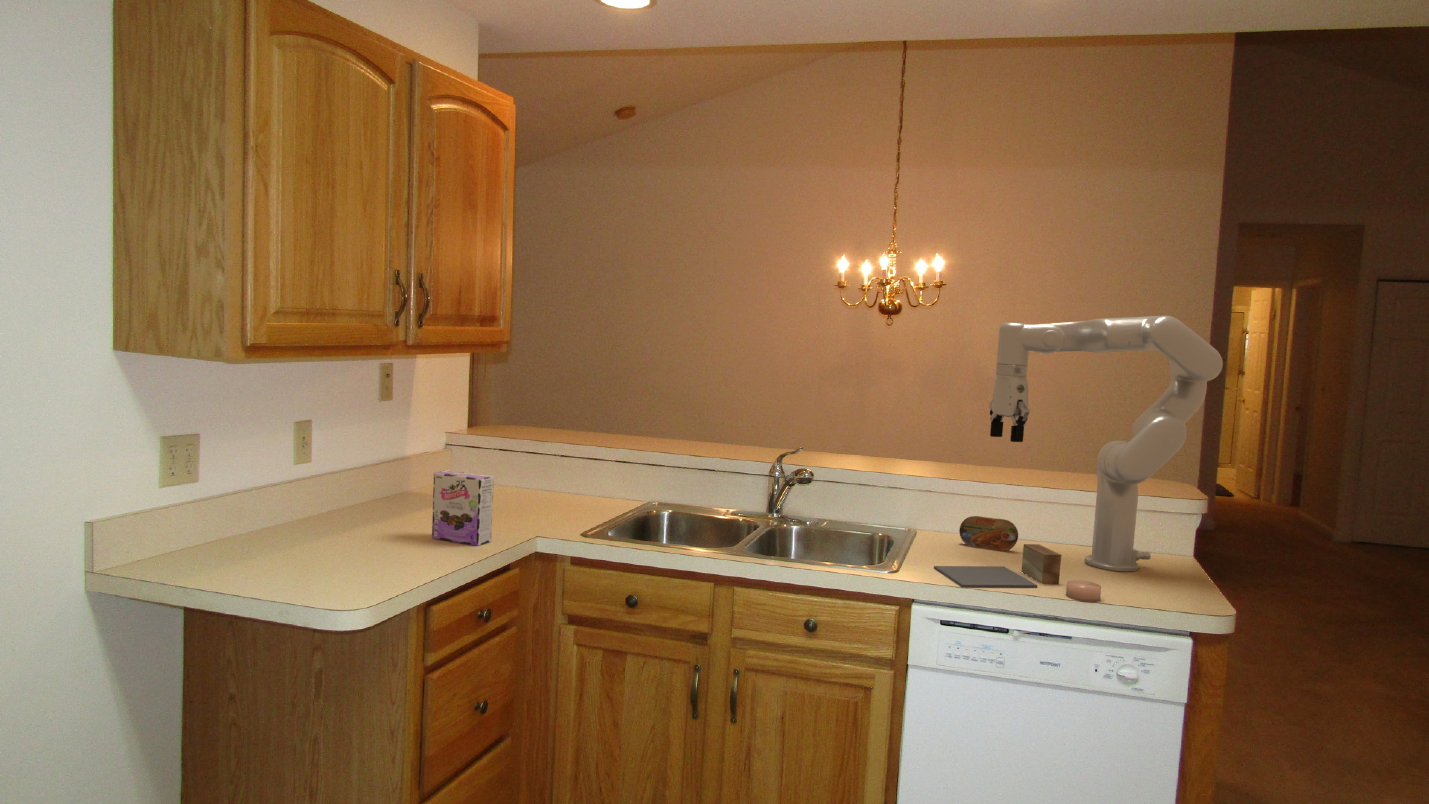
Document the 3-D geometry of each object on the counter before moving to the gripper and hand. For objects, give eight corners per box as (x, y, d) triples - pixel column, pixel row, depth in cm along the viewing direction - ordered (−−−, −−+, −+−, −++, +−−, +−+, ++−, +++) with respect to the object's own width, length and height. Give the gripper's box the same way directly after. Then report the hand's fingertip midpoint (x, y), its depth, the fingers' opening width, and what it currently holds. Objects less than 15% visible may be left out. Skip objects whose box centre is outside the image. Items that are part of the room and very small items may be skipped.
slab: (1036, 572, 223) (1039, 544, 222) (1058, 584, 213) (1061, 554, 213) (1020, 572, 222) (1023, 544, 222) (1042, 584, 212) (1044, 554, 212)
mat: (1003, 568, 225) (1004, 566, 225) (1037, 587, 209) (1037, 585, 209) (933, 568, 222) (933, 565, 222) (962, 587, 206) (962, 584, 206)
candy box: (430, 538, 225) (432, 471, 224) (446, 534, 231) (448, 468, 230) (477, 546, 220) (479, 478, 219) (492, 541, 226) (494, 475, 224)
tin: (957, 545, 248) (960, 514, 248) (960, 543, 251) (962, 512, 251) (1015, 554, 242) (1018, 522, 241) (1018, 551, 244) (1020, 520, 244)
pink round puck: (1088, 593, 207) (1089, 580, 207) (1106, 602, 200) (1107, 589, 200) (1059, 593, 206) (1060, 580, 206) (1076, 602, 199) (1078, 589, 199)
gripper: (1044, 374, 226) (1038, 444, 227) (1006, 370, 242) (1001, 435, 244) (1016, 373, 224) (1011, 443, 225) (980, 369, 241) (975, 434, 242)
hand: (1006, 439), depth 235 cm, fingers open, 9 cm apart
